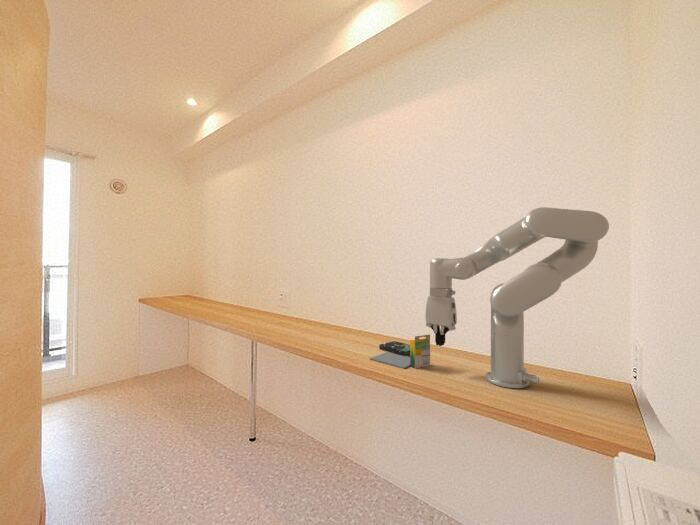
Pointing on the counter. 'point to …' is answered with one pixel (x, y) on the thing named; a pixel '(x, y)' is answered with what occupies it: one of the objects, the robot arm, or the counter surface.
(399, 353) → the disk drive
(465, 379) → the counter surface
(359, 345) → the counter surface
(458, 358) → the counter surface
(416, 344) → the crayon box
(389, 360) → the slate pad
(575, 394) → the counter surface
